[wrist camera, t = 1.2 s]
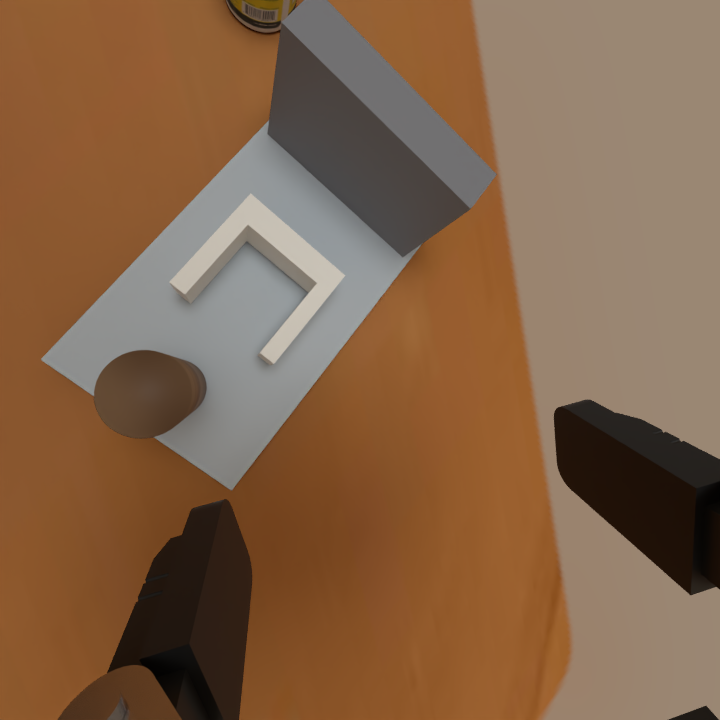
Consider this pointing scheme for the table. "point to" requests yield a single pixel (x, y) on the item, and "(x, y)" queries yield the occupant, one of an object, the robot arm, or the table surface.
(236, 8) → the supplement bottle
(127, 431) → the dowel
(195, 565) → the robot arm
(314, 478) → the table surface
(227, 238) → the cradle
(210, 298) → the board with wall
